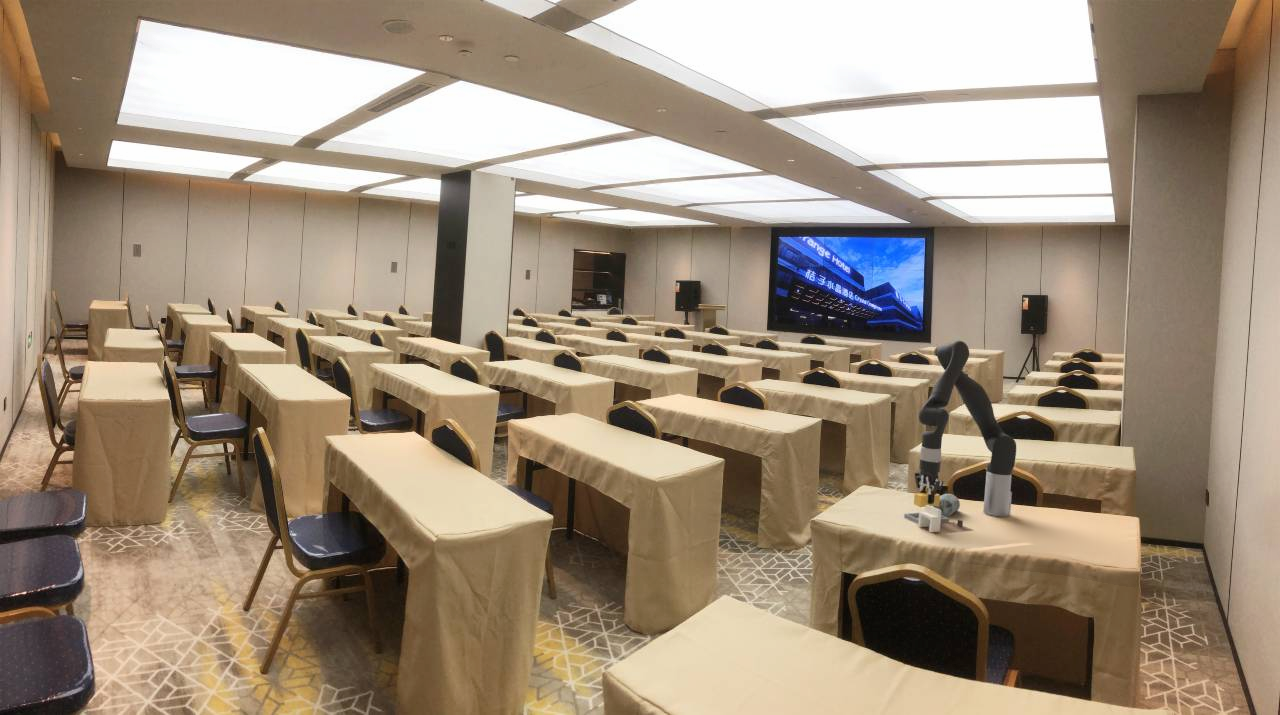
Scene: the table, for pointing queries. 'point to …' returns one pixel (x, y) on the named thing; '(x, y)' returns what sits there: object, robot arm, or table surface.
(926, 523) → the white stepped block
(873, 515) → the table surface
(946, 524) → the clamp board
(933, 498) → the robot arm
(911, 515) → the tray
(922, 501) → the yellow rectangular block
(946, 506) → the streaked grey-blue ovoid
